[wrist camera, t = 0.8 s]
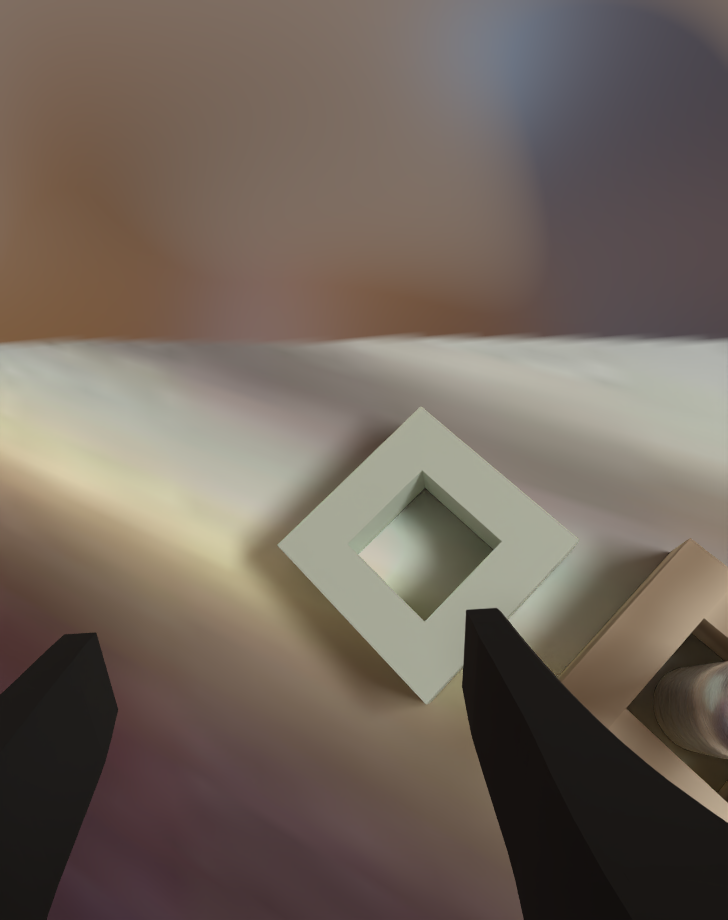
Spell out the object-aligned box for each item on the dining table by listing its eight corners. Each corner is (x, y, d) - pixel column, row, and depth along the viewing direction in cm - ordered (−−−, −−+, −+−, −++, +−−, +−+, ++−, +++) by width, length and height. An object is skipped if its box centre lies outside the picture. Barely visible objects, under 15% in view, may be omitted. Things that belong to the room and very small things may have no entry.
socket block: (872, 712, 24) (915, 714, 22) (726, 897, 23) (756, 920, 20) (670, 551, 27) (690, 538, 25) (532, 705, 26) (539, 706, 23)
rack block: (569, 553, 28) (579, 539, 25) (428, 703, 26) (426, 704, 24) (423, 428, 31) (420, 406, 29) (291, 556, 29) (276, 544, 27)
